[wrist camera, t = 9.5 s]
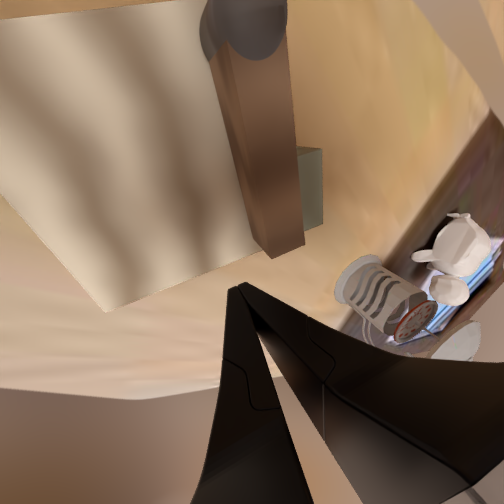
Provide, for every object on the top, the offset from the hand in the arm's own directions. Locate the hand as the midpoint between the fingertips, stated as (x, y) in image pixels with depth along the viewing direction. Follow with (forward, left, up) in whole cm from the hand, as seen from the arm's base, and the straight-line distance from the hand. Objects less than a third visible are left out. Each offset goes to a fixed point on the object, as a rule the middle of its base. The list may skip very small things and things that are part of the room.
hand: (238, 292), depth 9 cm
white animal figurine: (+38, -21, -13) cm, 45 cm away
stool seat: (-1, +3, -13) cm, 13 cm away
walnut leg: (+6, +4, -10) cm, 12 cm away
